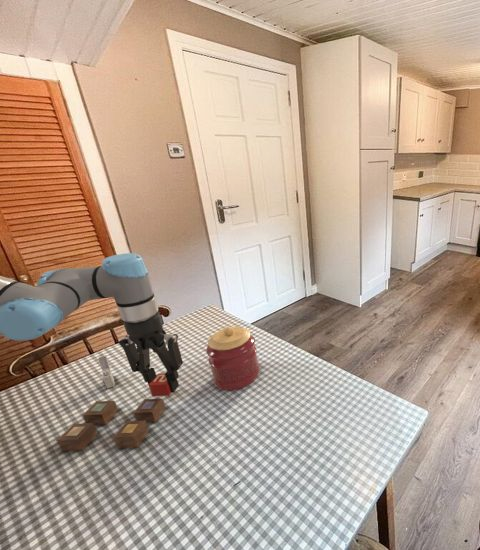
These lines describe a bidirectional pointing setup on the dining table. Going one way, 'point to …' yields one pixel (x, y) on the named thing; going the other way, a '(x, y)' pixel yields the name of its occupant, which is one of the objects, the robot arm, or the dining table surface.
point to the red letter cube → (160, 386)
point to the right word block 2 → (149, 410)
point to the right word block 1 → (131, 434)
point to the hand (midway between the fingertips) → (165, 389)
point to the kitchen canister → (233, 358)
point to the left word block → (100, 412)
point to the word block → (77, 437)
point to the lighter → (106, 372)
